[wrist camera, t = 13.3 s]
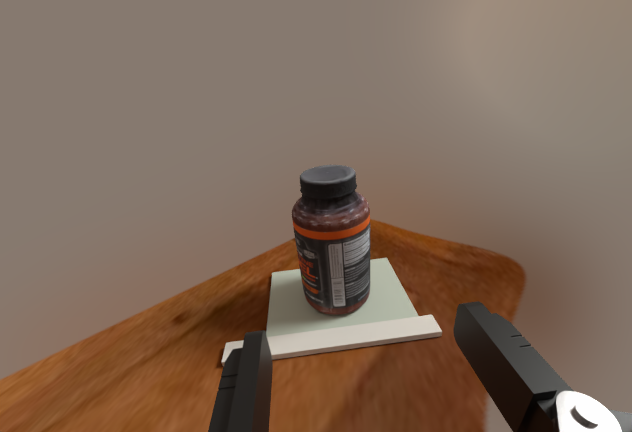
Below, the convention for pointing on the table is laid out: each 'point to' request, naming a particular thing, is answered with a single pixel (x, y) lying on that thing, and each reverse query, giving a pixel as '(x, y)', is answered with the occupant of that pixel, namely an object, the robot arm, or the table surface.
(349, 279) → the supplement bottle
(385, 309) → the white flat t-shaped panel
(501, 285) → the table surface
